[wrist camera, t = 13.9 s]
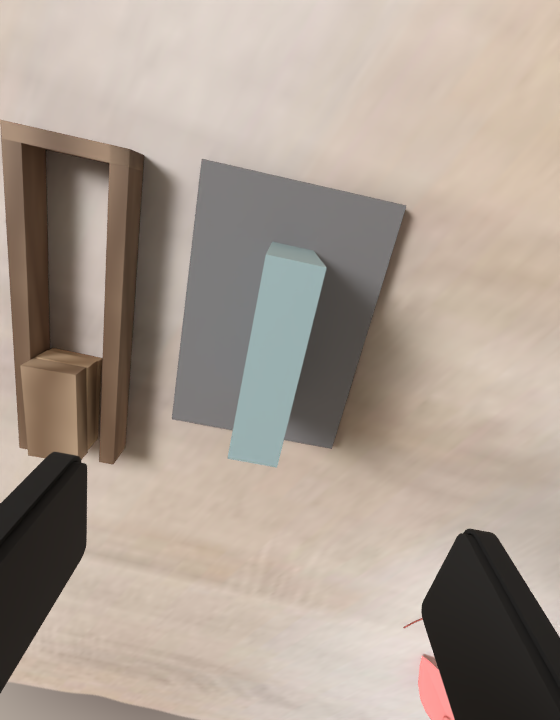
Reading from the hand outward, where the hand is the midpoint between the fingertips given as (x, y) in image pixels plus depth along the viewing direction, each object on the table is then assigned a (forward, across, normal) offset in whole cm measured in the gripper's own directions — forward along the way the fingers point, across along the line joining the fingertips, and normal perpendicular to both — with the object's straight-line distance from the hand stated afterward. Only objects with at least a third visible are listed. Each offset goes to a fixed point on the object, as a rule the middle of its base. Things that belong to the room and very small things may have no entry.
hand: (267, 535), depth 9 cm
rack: (+21, +16, +3) cm, 26 cm away
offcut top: (+19, +16, +11) cm, 27 cm away
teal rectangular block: (+20, 0, +1) cm, 20 cm away
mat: (+21, 0, +1) cm, 21 cm away
